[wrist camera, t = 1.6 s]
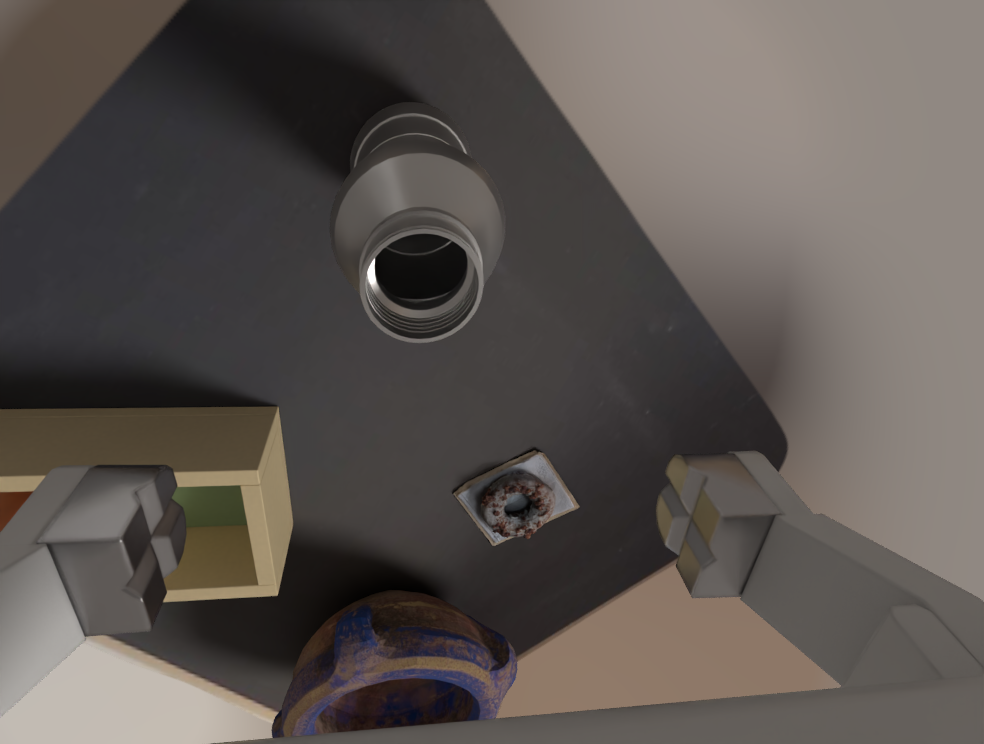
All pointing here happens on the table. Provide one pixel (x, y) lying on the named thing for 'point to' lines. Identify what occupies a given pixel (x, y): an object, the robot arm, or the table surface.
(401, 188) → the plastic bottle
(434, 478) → the table surface
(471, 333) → the table surface
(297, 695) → the bowl
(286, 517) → the divided box
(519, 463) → the donut
